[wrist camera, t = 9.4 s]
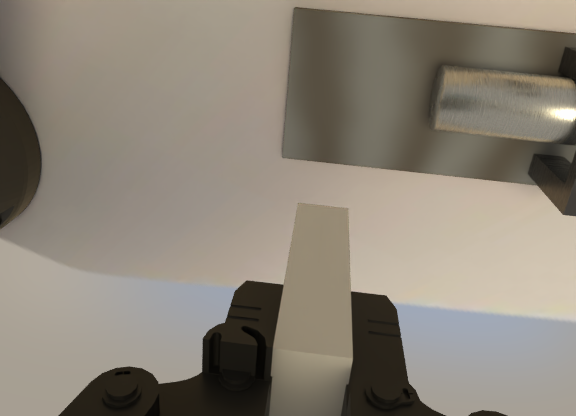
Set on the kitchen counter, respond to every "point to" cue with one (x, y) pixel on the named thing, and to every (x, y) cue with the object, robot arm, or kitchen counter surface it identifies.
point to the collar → (558, 160)
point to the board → (404, 92)
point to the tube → (504, 105)
